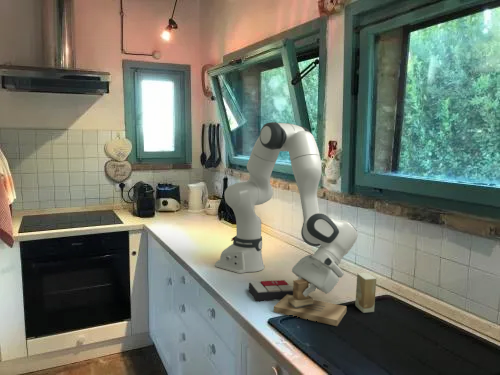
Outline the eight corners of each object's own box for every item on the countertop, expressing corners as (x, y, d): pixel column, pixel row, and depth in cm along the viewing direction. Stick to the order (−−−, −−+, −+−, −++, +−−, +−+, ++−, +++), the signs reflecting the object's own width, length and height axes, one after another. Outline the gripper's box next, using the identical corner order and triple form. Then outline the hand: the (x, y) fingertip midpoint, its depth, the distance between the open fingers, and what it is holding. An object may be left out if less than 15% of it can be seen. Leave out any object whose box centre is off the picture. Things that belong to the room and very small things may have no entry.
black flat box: (295, 289, 156) (257, 291, 152) (295, 300, 156) (256, 302, 152) (285, 279, 166) (248, 280, 162) (284, 289, 167) (248, 291, 163)
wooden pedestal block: (288, 302, 146) (288, 280, 145) (305, 299, 149) (305, 277, 148) (295, 308, 142) (296, 285, 141) (313, 304, 145) (313, 282, 144)
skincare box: (354, 305, 150) (356, 272, 148) (365, 304, 151) (367, 271, 149) (363, 313, 144) (365, 279, 142) (375, 312, 145) (376, 278, 143)
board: (273, 311, 144) (273, 306, 144) (286, 299, 154) (287, 294, 154) (337, 326, 134) (337, 320, 134) (346, 311, 145) (346, 306, 144)
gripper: (303, 248, 155) (279, 277, 153) (336, 264, 137) (310, 298, 134) (312, 258, 158) (289, 287, 155) (347, 275, 140) (321, 309, 137)
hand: (299, 292), depth 145 cm, fingers closed on wooden pedestal block, 3 cm apart
